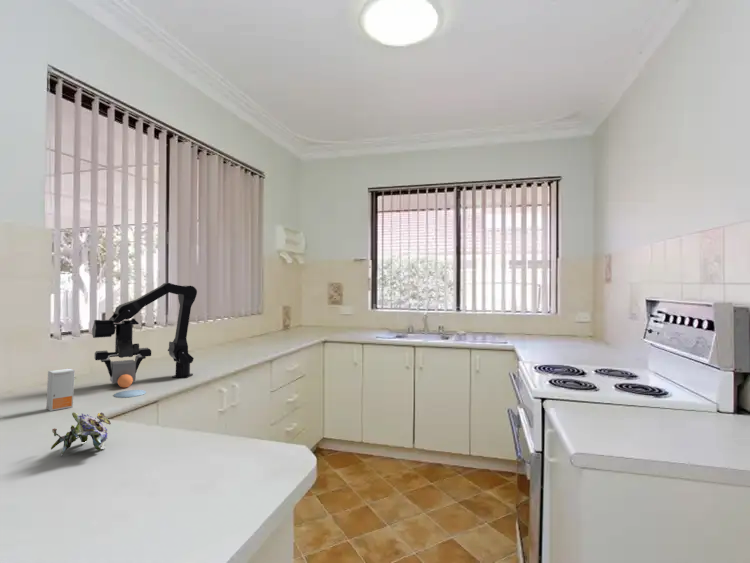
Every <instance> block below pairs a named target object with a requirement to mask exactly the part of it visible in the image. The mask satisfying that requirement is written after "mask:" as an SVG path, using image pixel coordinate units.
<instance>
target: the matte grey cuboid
mask: <svg viewBox="0 0 750 563" xmlns="http://www.w3.org/2000/svg"><path fill="white" fill-rule="evenodd" d="M111 371H112V377H110V376H109V381H110V382H111V384H118V379H119V377H120V376H122V375H125V374H128V375H130V376H131V377H132V378H133V382H136V380H137V378H136V375H137V372H136V362H135V359H127V360H125V359H124V360H123V359H122V360H114V361H113V360H112V361H111Z"/></svg>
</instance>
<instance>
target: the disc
mask: <svg viewBox="0 0 750 563" xmlns="http://www.w3.org/2000/svg"><path fill="white" fill-rule="evenodd" d="M146 393H147V391H146V390H143V389H130V390H129V389H127V390H122V391H118V392H116V393H114V394H113V397H115V398H121V399H123V398H125V399H126V398H133V397H140V396H142V395H145V394H146Z"/></svg>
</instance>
